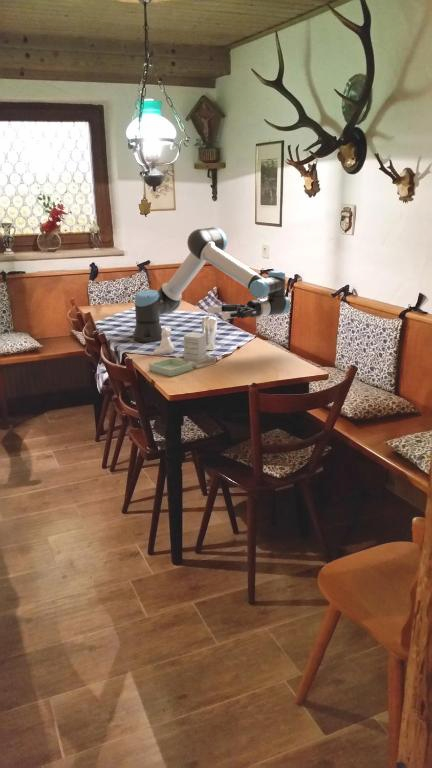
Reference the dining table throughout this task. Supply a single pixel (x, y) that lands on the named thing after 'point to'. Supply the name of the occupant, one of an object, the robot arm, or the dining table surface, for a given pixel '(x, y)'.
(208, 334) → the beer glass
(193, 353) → the supplement box
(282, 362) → the dining table surface
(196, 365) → the beige square tray
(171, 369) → the green tray
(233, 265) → the robot arm
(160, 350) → the white creature statuette
